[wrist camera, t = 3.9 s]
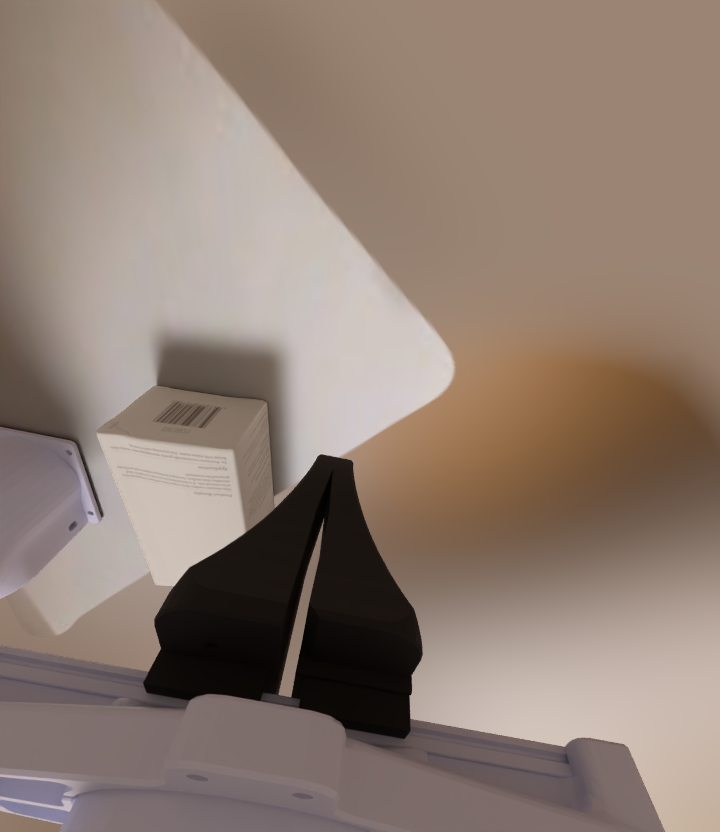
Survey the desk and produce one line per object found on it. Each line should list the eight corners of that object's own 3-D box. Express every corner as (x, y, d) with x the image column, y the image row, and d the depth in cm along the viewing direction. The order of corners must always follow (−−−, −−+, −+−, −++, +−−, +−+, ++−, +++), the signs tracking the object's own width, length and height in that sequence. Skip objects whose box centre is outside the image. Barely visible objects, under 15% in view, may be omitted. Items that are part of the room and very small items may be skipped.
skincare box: (154, 382, 23) (189, 524, 31) (85, 432, 18) (149, 586, 26) (274, 399, 23) (278, 538, 31) (239, 455, 18) (255, 603, 26)
